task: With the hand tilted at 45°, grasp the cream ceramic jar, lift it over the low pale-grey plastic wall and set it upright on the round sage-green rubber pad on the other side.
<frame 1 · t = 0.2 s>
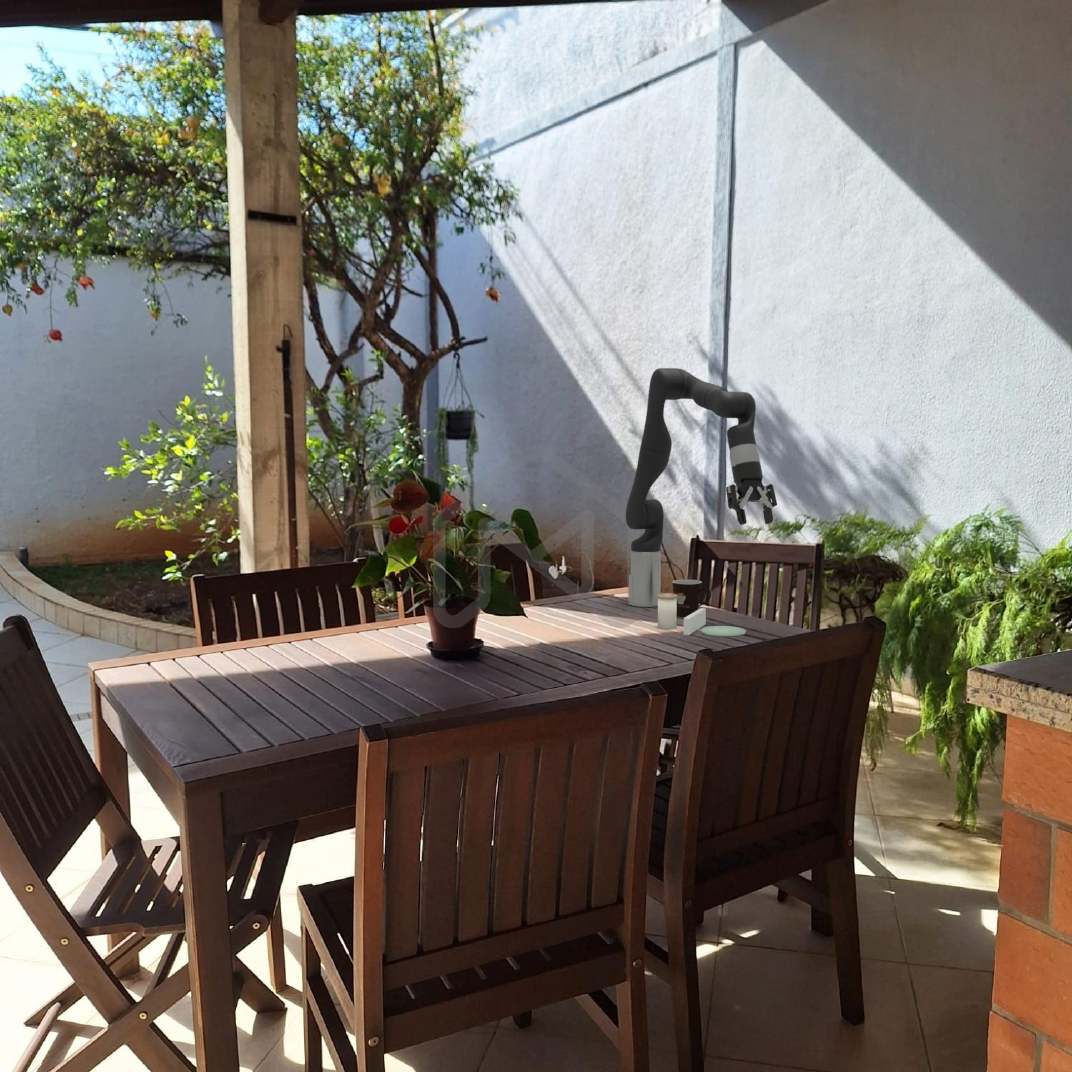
hand: (756, 523, 251), 30 cm above the table, tool tilted 20°, fingers open, 8 cm apart
coffee mug: (689, 616, 286), on the table
sage pad: (723, 631, 263), on the table
grey wall: (694, 629, 267), on the table
cream jar: (667, 627, 270), on the table
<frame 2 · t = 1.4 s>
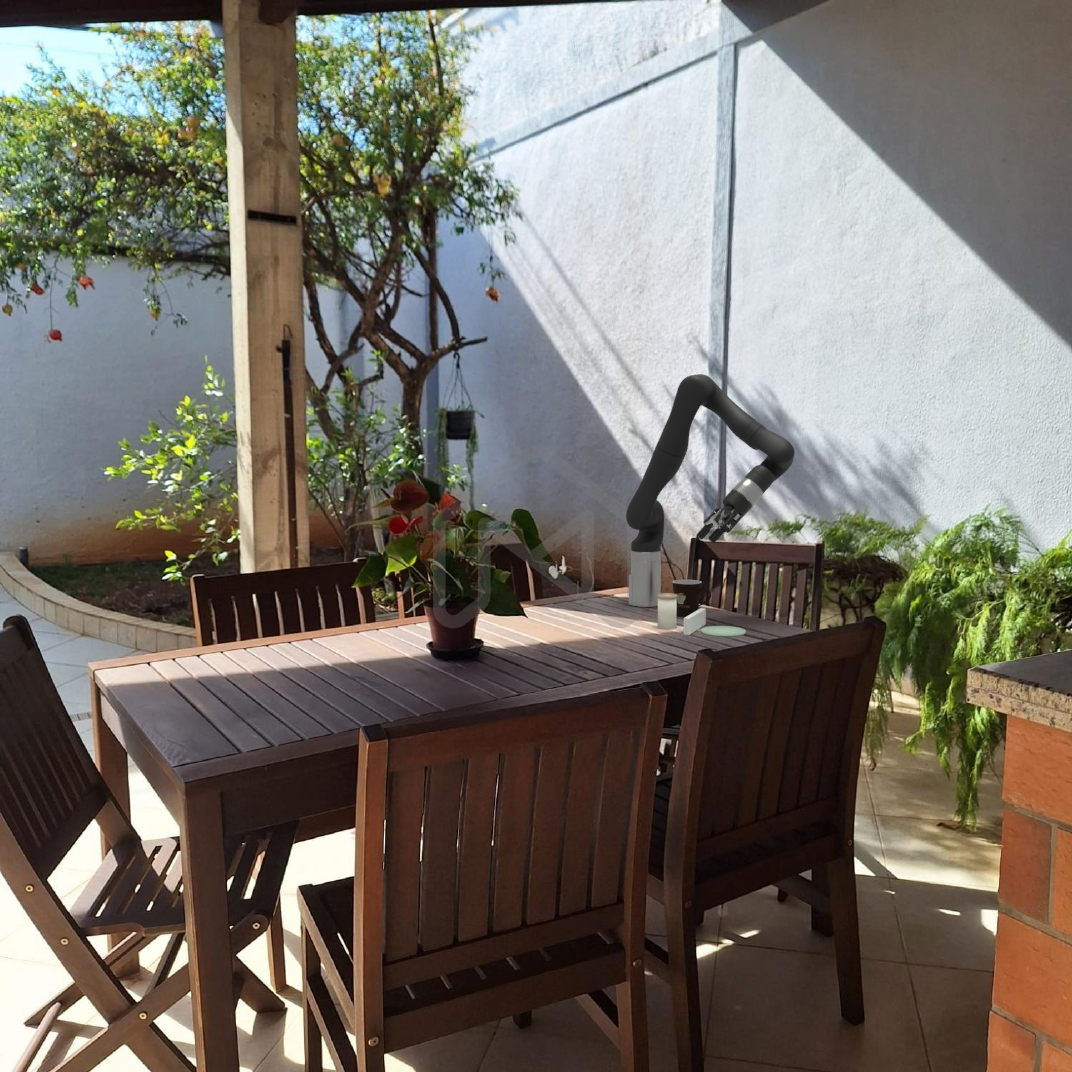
hand: (704, 539, 272), 24 cm above the table, tool tilted 45°, fingers open, 8 cm apart
nothing on the table moved.
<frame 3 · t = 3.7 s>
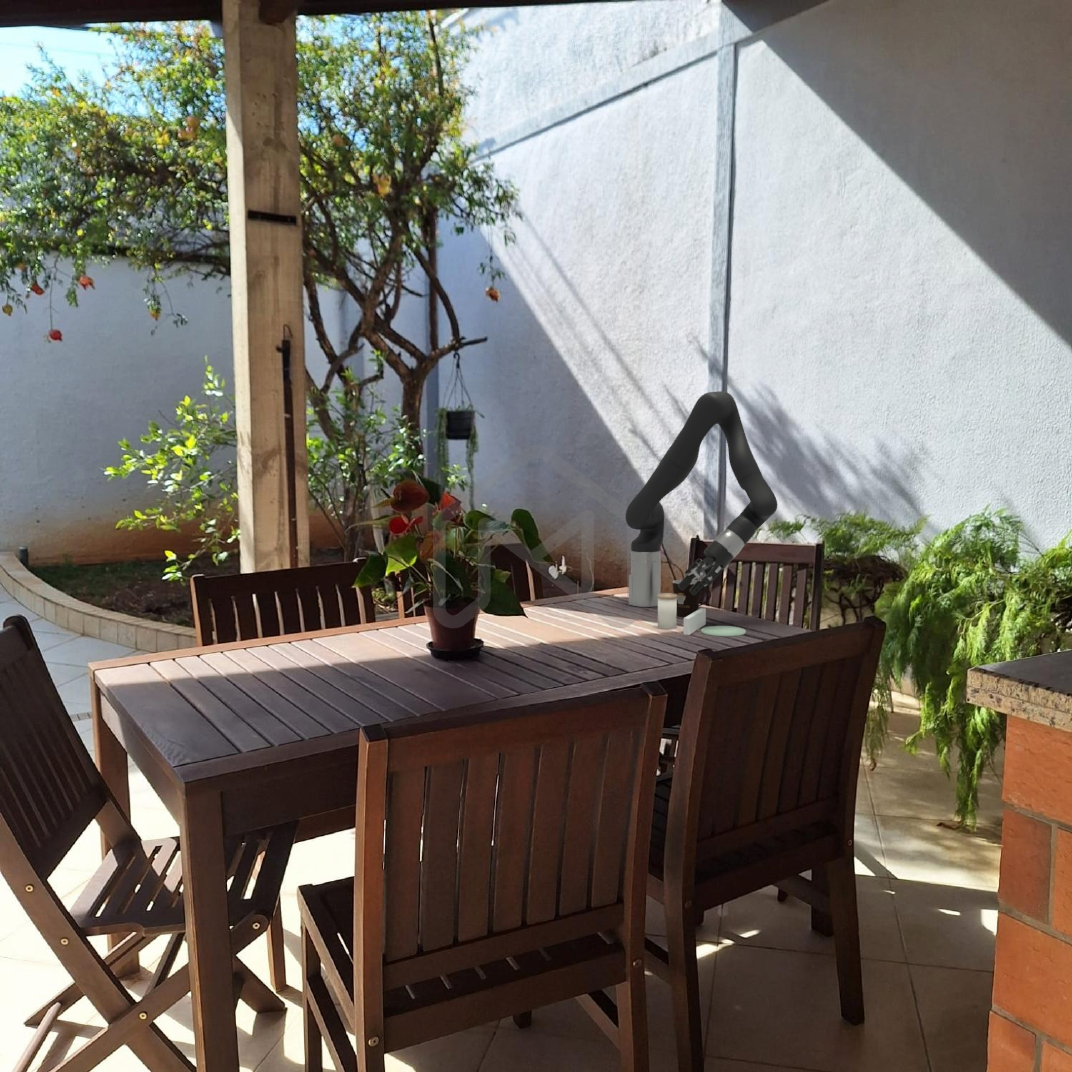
hand: (685, 590, 270), 10 cm above the table, tool tilted 45°, fingers open, 8 cm apart
nothing on the table moved.
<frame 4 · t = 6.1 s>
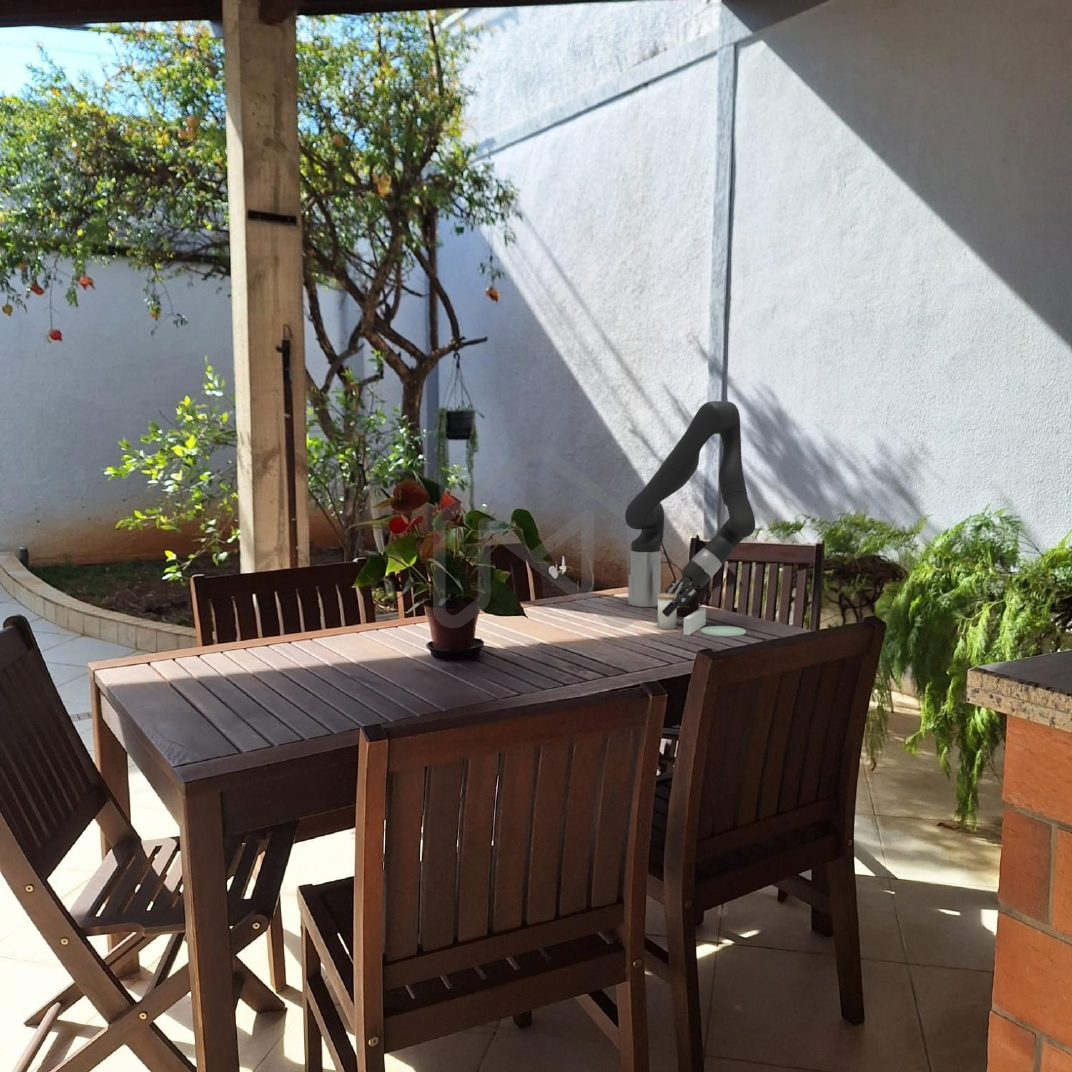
hand: (661, 612, 269), 4 cm above the table, tool tilted 45°, fingers closed on cream jar, 5 cm apart
cream jar: (667, 627, 270), on the table, touching gripper
everything else where it was.
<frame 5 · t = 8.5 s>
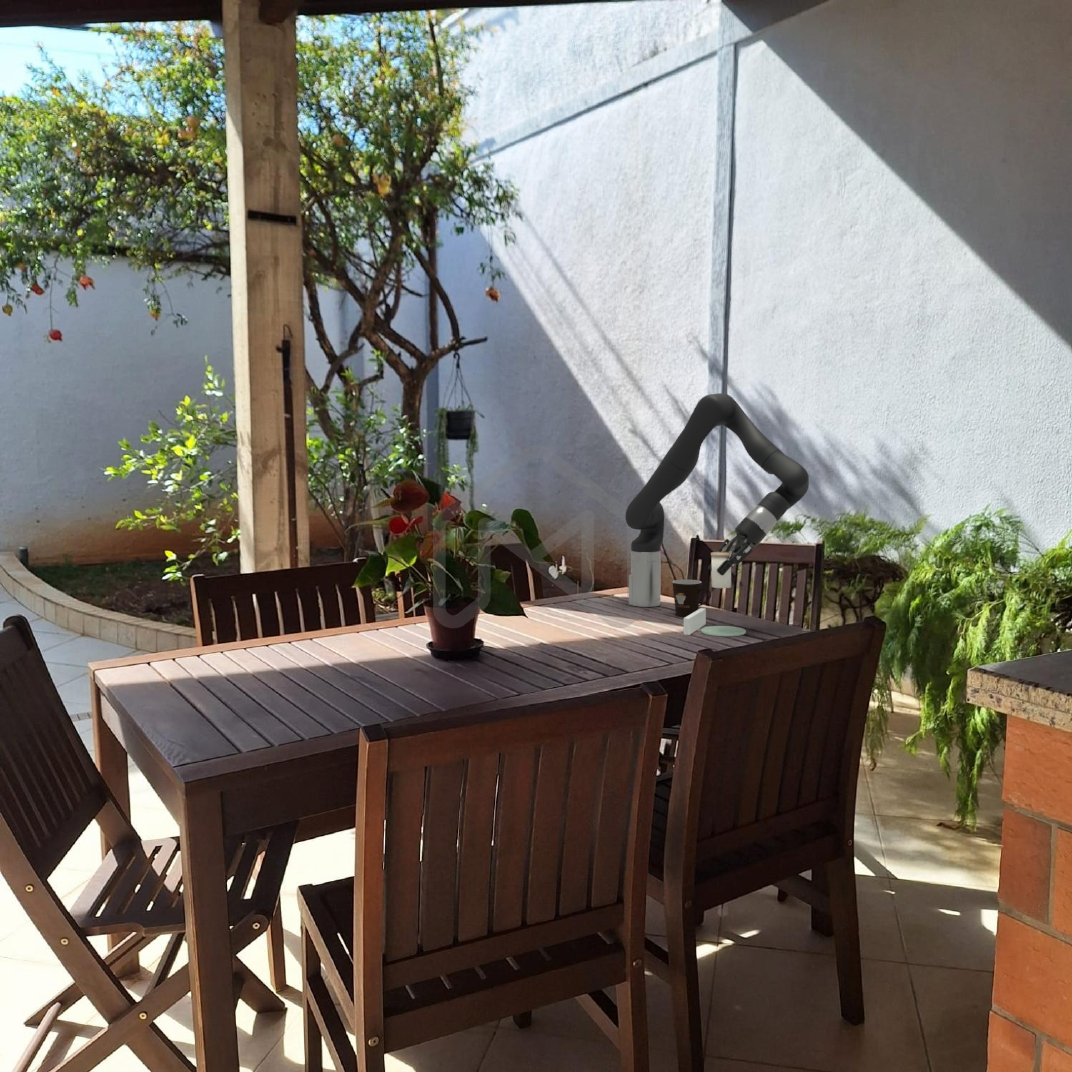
hand: (715, 571, 261), 17 cm above the table, tool tilted 45°, fingers closed on cream jar, 5 cm apart
cream jar: (721, 586, 262), point 12 cm above the table, touching gripper
everything else where it was.
when the fingers open (6 cm above the table, at t = 11.0 s): cream jar drops 1 cm, resting on sage pad.
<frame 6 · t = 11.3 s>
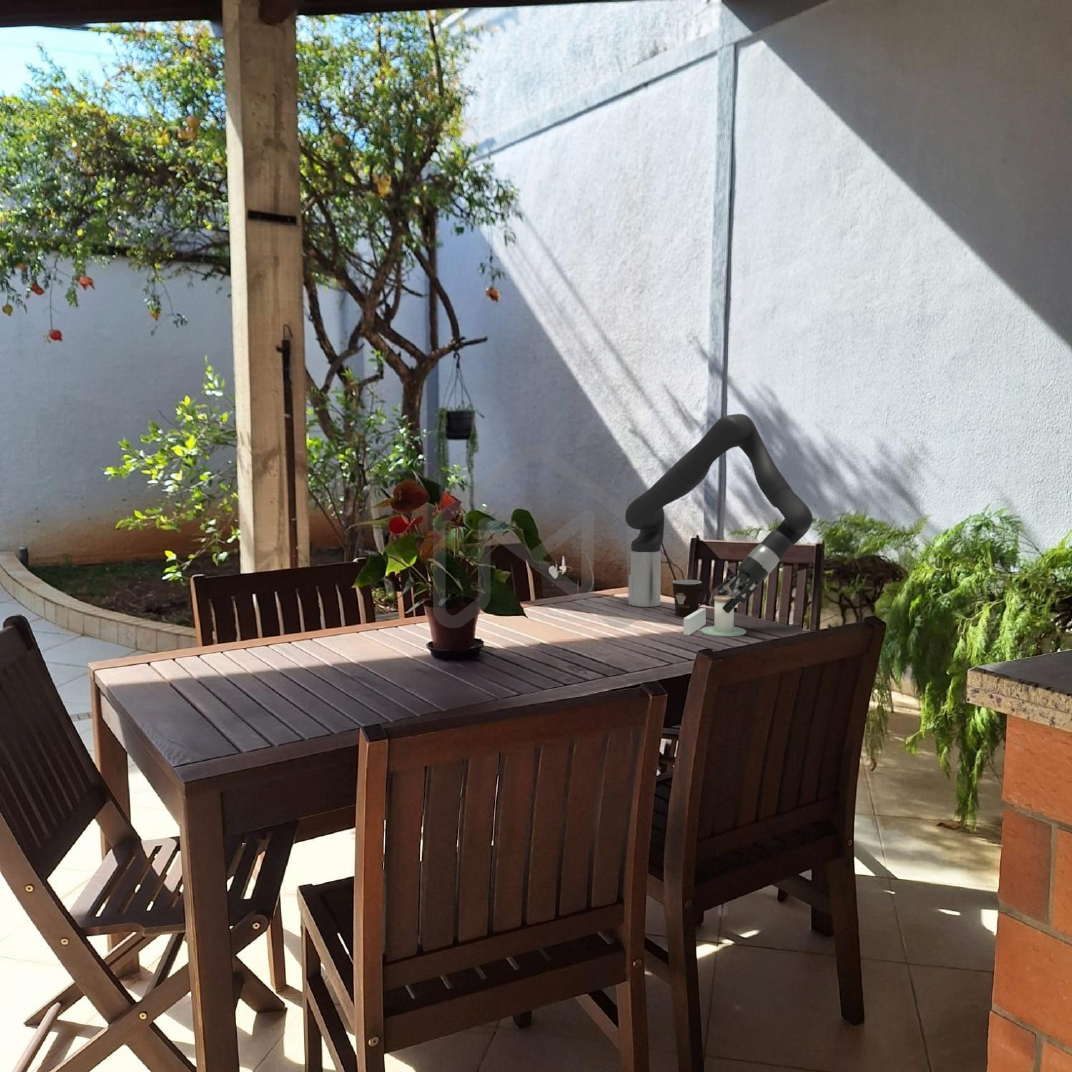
hand: (718, 608, 262), 7 cm above the table, tool tilted 45°, fingers open, 8 cm apart
cream jar: (723, 630, 263), resting on sage pad
everything else where it was.
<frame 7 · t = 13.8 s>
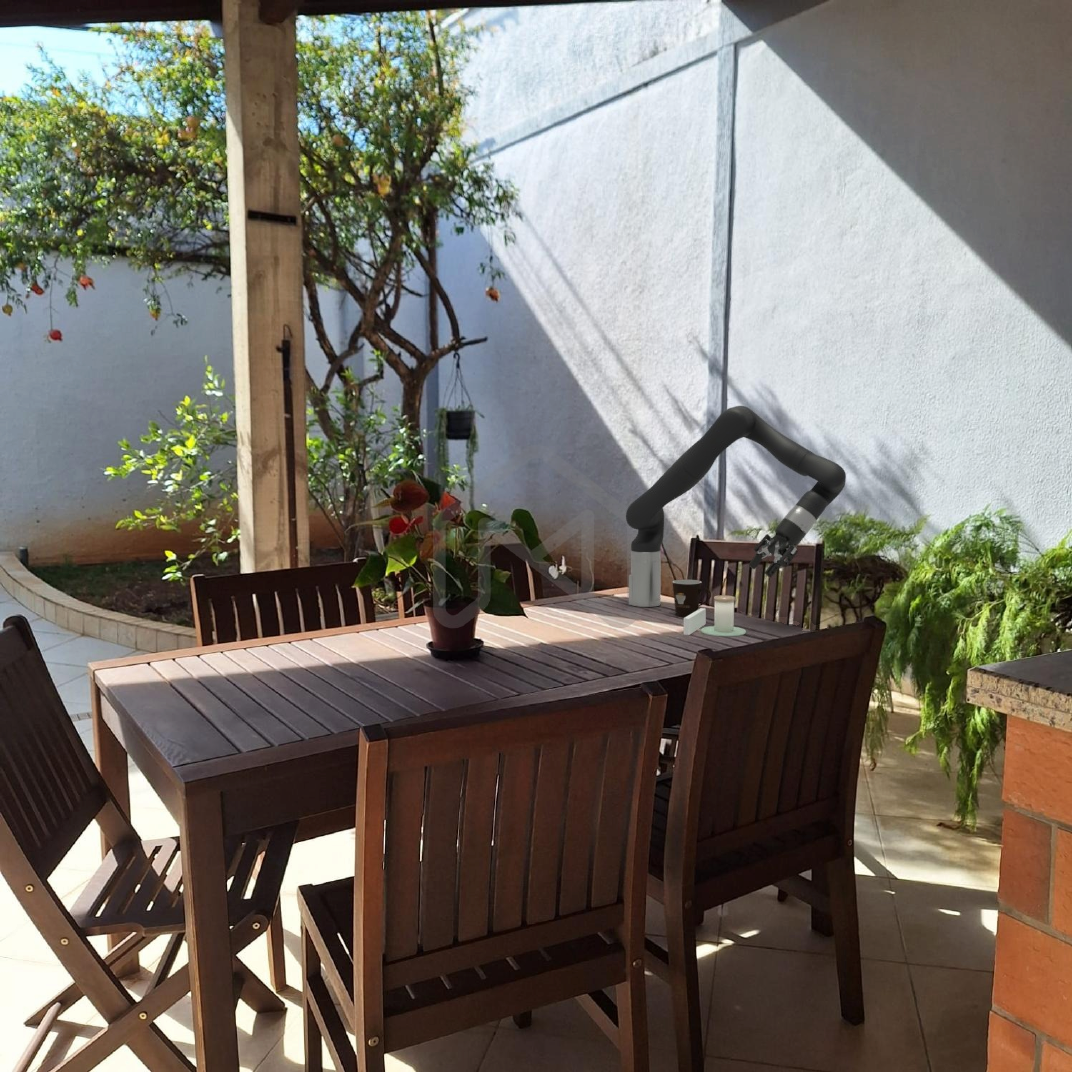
hand: (759, 571, 266), 16 cm above the table, tool tilted 40°, fingers open, 8 cm apart
nothing on the table moved.
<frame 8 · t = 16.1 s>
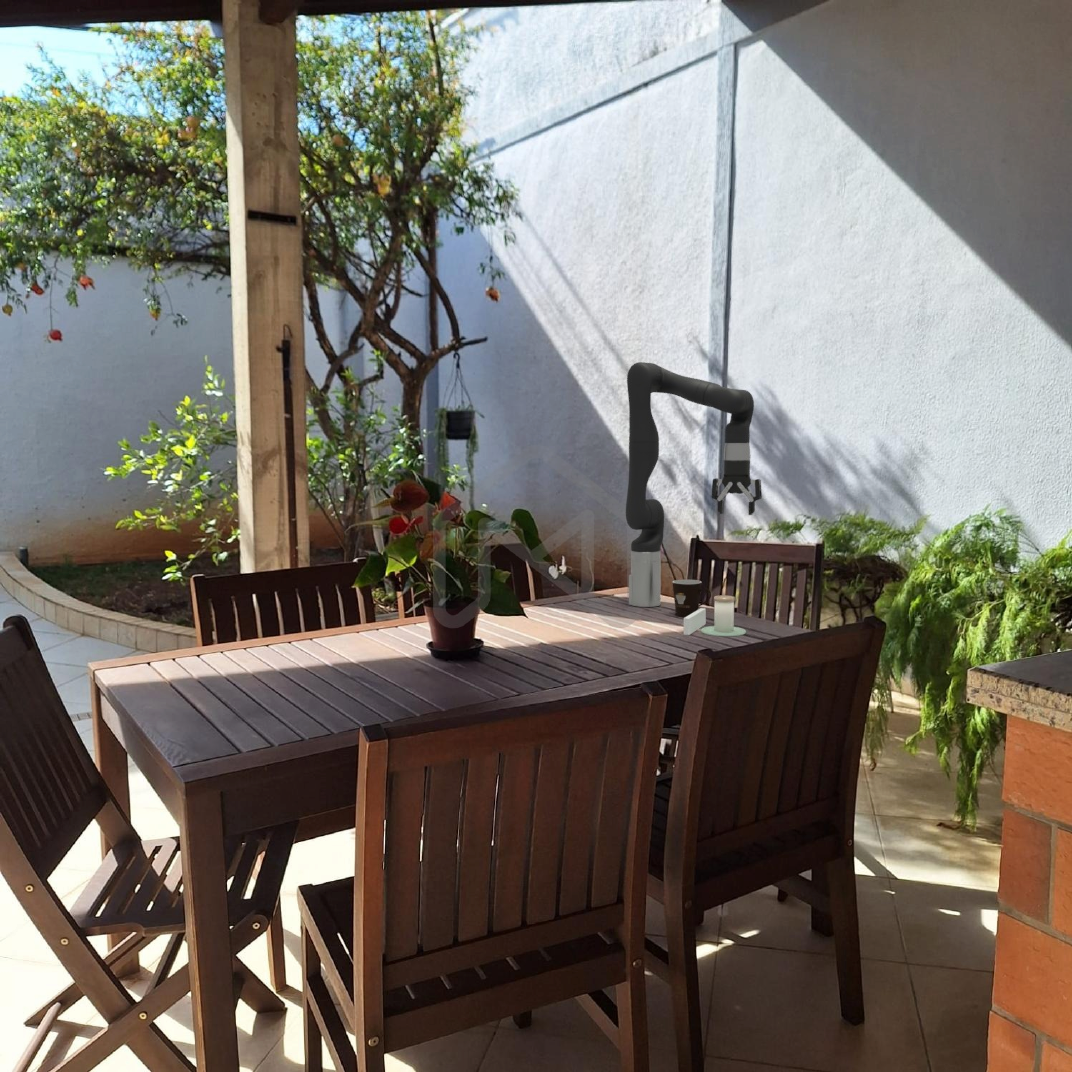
hand: (736, 514, 282), 30 cm above the table, tool pointing down, fingers open, 8 cm apart
nothing on the table moved.
at the end: cream jar inside the target area on the sage pad (0.2 cm from its centre), point 0.4 cm above the sage pad's base; cream jar tilted 0°; the gripper is holding nothing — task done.
